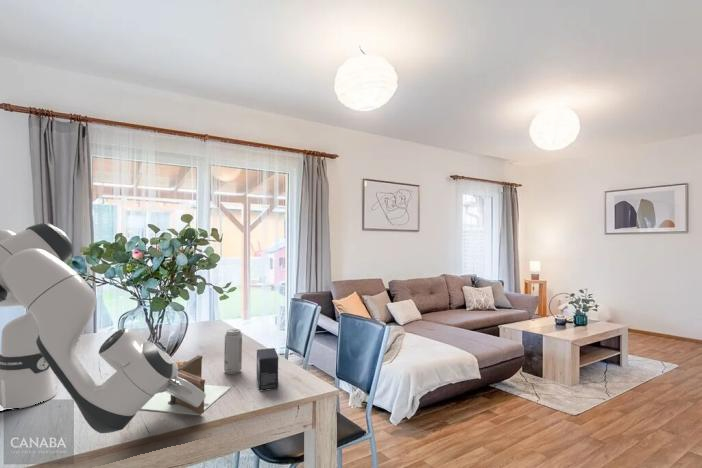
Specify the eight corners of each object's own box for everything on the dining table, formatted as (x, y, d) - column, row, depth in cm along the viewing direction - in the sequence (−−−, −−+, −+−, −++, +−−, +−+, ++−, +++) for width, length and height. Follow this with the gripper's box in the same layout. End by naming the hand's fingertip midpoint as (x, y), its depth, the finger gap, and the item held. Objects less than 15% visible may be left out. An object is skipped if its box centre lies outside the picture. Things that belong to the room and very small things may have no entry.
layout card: (123, 408, 107) (123, 406, 107) (166, 382, 125) (166, 381, 125) (199, 415, 103) (199, 413, 103) (231, 387, 122) (231, 386, 122)
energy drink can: (224, 369, 138) (225, 328, 138) (241, 368, 140) (242, 328, 140) (223, 375, 132) (224, 333, 133) (241, 374, 134) (242, 332, 134)
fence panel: (199, 414, 102) (199, 381, 102) (174, 402, 109) (175, 371, 109) (204, 412, 103) (205, 379, 103) (179, 400, 110) (180, 370, 110)
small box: (255, 379, 130) (255, 348, 130) (274, 377, 132) (275, 347, 132) (258, 391, 120) (258, 358, 120) (278, 389, 122) (279, 356, 122)
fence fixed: (168, 404, 109) (169, 370, 109) (196, 385, 124) (197, 354, 124) (175, 405, 109) (176, 370, 109) (202, 385, 123) (203, 355, 123)
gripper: (189, 372, 91) (223, 399, 98) (148, 355, 103) (181, 380, 111) (171, 397, 87) (207, 423, 95) (130, 376, 99) (166, 401, 107)
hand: (193, 400), depth 103 cm, fingers closed, pressing on fence panel
